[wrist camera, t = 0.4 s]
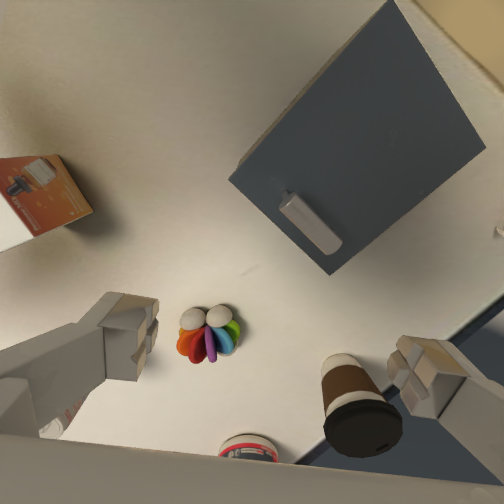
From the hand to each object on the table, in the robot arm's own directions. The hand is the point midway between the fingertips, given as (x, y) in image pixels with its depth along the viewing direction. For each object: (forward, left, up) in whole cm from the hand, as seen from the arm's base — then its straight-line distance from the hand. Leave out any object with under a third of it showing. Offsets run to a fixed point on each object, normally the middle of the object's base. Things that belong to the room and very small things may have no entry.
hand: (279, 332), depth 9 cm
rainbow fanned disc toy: (+22, -8, -28) cm, 36 cm away
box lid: (-4, +8, -17) cm, 19 cm away
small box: (0, -26, -28) cm, 38 cm away
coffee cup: (+32, +14, -28) cm, 45 cm away
